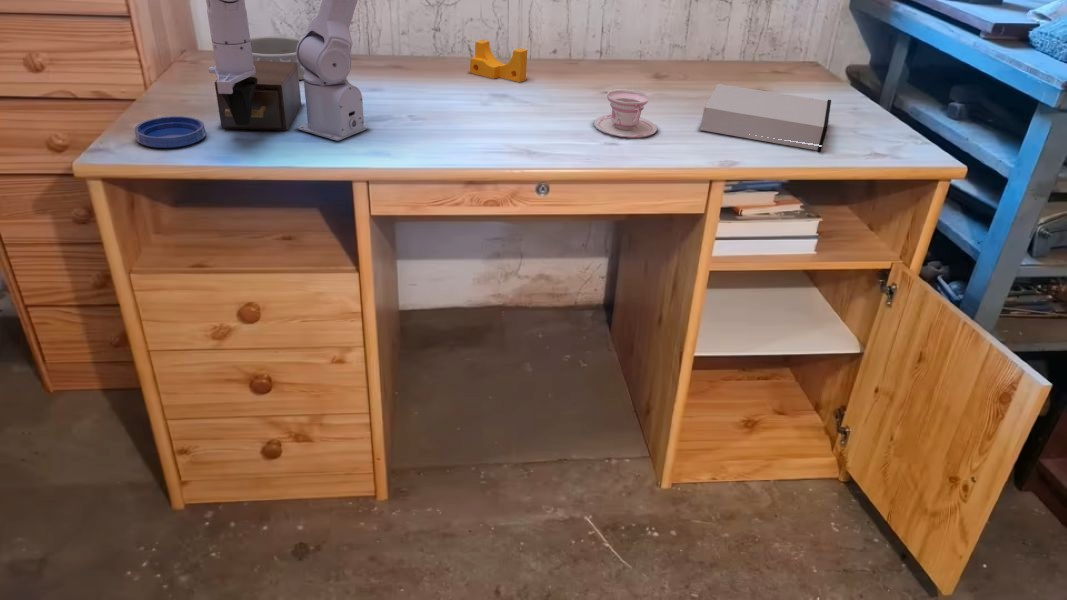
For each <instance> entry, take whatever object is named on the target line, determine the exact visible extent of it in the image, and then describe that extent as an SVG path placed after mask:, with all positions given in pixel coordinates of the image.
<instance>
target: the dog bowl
mask: <svg viewBox="0 0 1067 600" xmlns="http://www.w3.org/2000/svg"><path fill="white" fill-rule="evenodd" d="M300 39H301V38H297V37H290V36H279V35H278V36H273V35H272V36H270V35H269V36H256V37H250V41H251V49H252V56H253V61H274V62H297V67H298V76H299V81H301V80H304V78H303V75H304V72H305V69H304V68H305V67H303V66H302V65H301V64H300V63H299V61H298V59H297V55H296V48H297V45H298V42H299V41H300Z"/></svg>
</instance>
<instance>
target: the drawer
mask: <svg viewBox="0 0 1067 600" xmlns="http://www.w3.org/2000/svg"><path fill="white" fill-rule="evenodd" d="M217 95H218V102H219V108H220V114H221V121H222V126H233V127H264V128H281V127H282V118H281V109H280V100H279V92H278V89H266V90H258V89H255V91H254V95H253V100H252V112H251V121H250V124H249V125H236V124H235V121H234V119H233V117H232V114H231V112H230V109H229V107H228V105H227V103H226V101H225V99H224V98H223V96H222V95H221V94H219V93H218V90H217ZM217 95H216V96H217ZM218 102H217V103H218ZM219 108H218V109H219ZM220 114H219V115H220ZM221 121H220V122H221Z"/></svg>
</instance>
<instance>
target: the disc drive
mask: <svg viewBox="0 0 1067 600" xmlns="http://www.w3.org/2000/svg"><path fill="white" fill-rule="evenodd" d="M831 105H832V99H827V100H825V99H819V98H818V99H817V98H811V97H805V96H798V95H793V94H792V95H791V94H787V93H779V92H772V91H767V90H760V89H754V88H747V87H743V86H734V85H728V84H722V83H717V85H716V87H715V89H714V90H713V92H712V93H711V95H710V97H709V98H708V101H707V102H706V103H705V105H704V106H703V112H702V118H701V123H700V129H699V130H700V131H705V132H710V133H717V134H721V135H727V136H731V137H733V136H734V137H738V138H745V139H749V140H756V141H762V142H766V143H767V142H768V143H774V144H778V145H785V146H791V147H796V148H803V149H808V150H813V151H816V153H821V152H822V149H823V146H822V147H819V146H814V145H808V144H802V143H796V142H790V141H784V140H791V141H798V142H805V143H813V144H819V145H824V142H825V139H826V135H827V132H828V127H829V119H830V112H831ZM749 134H750V135H749ZM755 135H757V136H755ZM761 136H763V137H761ZM767 137H769V138H767ZM773 138H775V139H773ZM778 139H782V140H778Z"/></svg>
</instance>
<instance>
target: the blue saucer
mask: <svg viewBox="0 0 1067 600" xmlns="http://www.w3.org/2000/svg"><path fill="white" fill-rule="evenodd" d="M134 135H135V140H136V141H137V142H138V143H139V144H140V145H143V146H147V147H150V148H154V149H155V148H156V149H175V148H182V147H183V148H184V147H187V146H190V145H193V144H195V143H197V142H200V141H201V140H204V138H205V137H206V135H207V133H206V128H205V124H204V122H203V121H202V120H200V119H198V118H195V117H189V116H183V115H182V116H178V115H175V116H174V115H173V116H172V115H171V116H161V117H160V116H159V117H155V118H150V119H147V120H144V121H142V122H140V123H138V124H136V126H135V127H134Z"/></svg>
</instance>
